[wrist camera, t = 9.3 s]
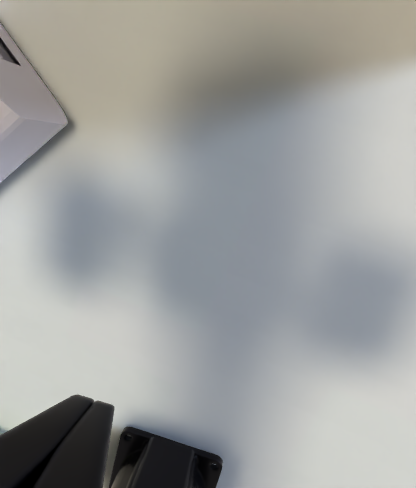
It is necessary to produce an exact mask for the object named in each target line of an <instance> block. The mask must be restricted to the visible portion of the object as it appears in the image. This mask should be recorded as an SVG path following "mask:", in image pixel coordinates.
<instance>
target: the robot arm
mask: <svg viewBox="0 0 416 488" xmlns="http://www.w3.org/2000/svg"><path fill="white" fill-rule="evenodd" d="M113 415H114V406H113V405H111V404H108V403H104V402H101V401H95V402H94V400H93V399H91V398H88V397H85V396H81V395H73V396H71V397H69V398H67V399H66V400H64V401H62V402H60V403H58V404H56V405H55V406H53V407H51V408H49V409H47V410H46V411H44V412H42V413H40V414H38V415H37V416H35V417H33V418H31V419H29V420H27V421H26V422H24V423H22V424H20V425H18V426H17V427H15V428H13V429H11V430H9V431H7V432H6V433H4V434H2V435H0V488H103V481H104V475H105V468H106V461H107V455H108V448H109V442H110V435H111V428H112V422H113ZM128 435H130V436H131V437H130V436H128ZM212 463H214V464H216V465H214V464H212ZM222 463H223V461H222V459H221V458H220V457H219V456H217V455H215V454H212V453H209V452H206V451H203V450H200V449H197V448H194V447H191V446H188V445H185V444H182V443H179V442H176V441H173V440H170V439H167V438H164V437H161V436H158V435H154V434H151V433H148V432H145V431H142V430H139V429H136V428H133V427H126V428H124V430H123V432H122V434H121V436H120V440H119V445H118V449H117V454H116V458H115V462H114V467H113V471H112V476H111V480H110V485H109V488H216V485H217V482H218V479H219V476H220V473H221V470H222Z"/></svg>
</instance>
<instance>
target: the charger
mask: <svg viewBox="0 0 416 488" xmlns="http://www.w3.org/2000/svg"><path fill="white" fill-rule="evenodd" d="M67 124H68V121H67V118H66V116H65V114H64V112H63V110H62V108H61V107H60V105H59V104H58V102H57V101H56V99H55V98H54V96H53V95H52V94H51V92H50V91H49V89H48V88H47V87H46V85H45V84H44V82H43V81H42V80H41V78H40V77H39V76H38V74H37V73H36V71H35V70H34V69H33V67H32V66H31V65H30V63H29V62H28V60H27V59H26V58H25V56H24V55H23V54H22V52H21V51H20V49H19V48H18V47H17V45H16V44H15V42H14V41H13V40H12V38H11V37H10V36H9V34H8V33H7V31H6V30H5V29H4V27H3V26H2V25H1V23H0V183H1V182H2V181H3V180H4V179H5V178H7V177H8V176H9V175H10V174H11V173H12V172H13V171H15V170H16V169H17V168H18V167H19V166H20V165H21V164H23V163H24V162H25V161H26V160H27V159H28V158H29V157H31V156H32V155H33V154H34V153H35V152H36V151H37V150H38V149H40V148H41V147H42V146H43V145H44V144H45V143H46V142H48V141H49V140H50V139H51V138H52V137H53V136H54V135H56V134H57V133H58V132H59V131H60V130H61V129H62V128H64V127H65V126H66V125H67Z"/></svg>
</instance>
